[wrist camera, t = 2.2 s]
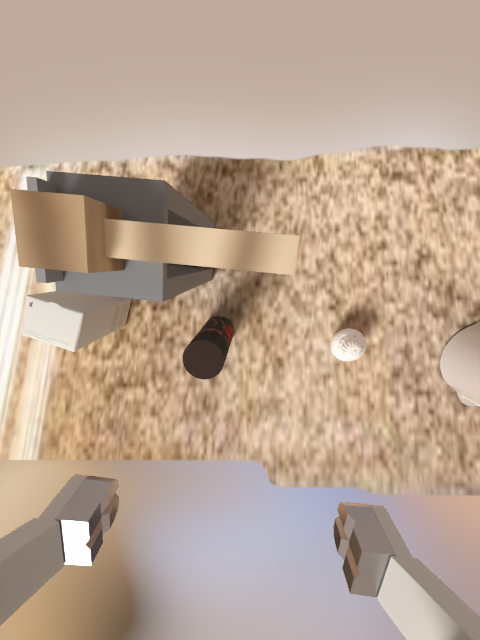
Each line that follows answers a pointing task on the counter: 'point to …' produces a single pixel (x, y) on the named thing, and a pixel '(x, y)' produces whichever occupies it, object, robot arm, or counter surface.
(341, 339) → the white rounded piece
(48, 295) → the skincare box
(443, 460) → the counter surface
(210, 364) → the deodorant
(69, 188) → the riser
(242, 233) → the mallet
